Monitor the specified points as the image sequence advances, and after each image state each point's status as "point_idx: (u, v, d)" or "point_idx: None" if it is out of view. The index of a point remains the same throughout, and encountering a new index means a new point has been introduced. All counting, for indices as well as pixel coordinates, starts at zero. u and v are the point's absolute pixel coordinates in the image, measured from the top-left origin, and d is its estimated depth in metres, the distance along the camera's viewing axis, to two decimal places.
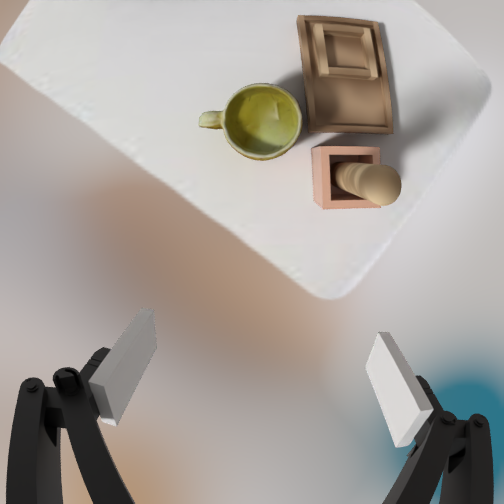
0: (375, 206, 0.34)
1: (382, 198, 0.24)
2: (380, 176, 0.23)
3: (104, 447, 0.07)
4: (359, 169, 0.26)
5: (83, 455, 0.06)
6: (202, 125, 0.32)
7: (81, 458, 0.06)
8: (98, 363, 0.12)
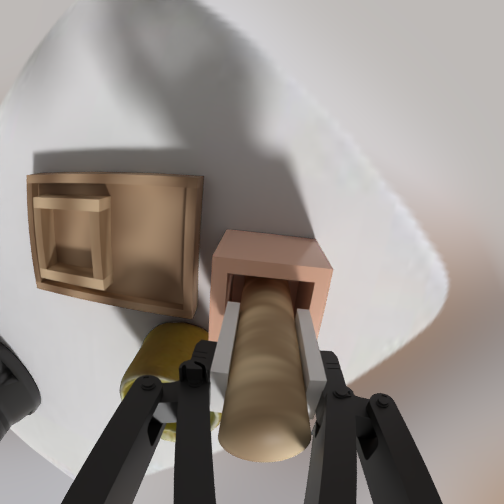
0: (328, 279, 0.18)
1: (292, 444, 0.10)
2: (243, 443, 0.10)
3: (209, 442, 0.08)
4: None
5: (184, 445, 0.08)
6: None
7: (181, 447, 0.08)
8: (203, 354, 0.14)
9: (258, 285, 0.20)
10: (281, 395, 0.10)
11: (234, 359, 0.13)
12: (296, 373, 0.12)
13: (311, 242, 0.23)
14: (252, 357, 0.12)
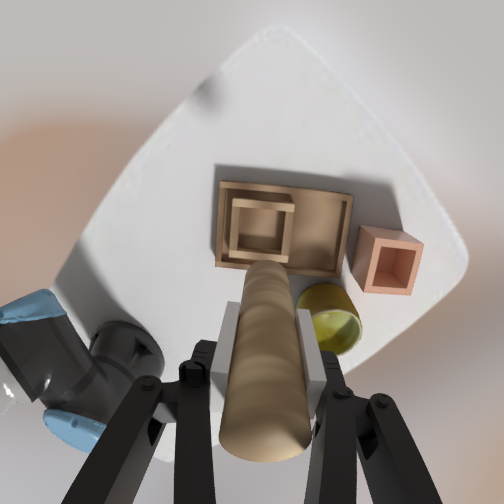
0: (422, 249, 0.34)
1: (293, 444, 0.10)
2: (244, 443, 0.10)
3: (209, 442, 0.08)
4: None
5: (184, 444, 0.08)
6: None
7: (181, 447, 0.08)
8: (203, 354, 0.14)
9: (258, 284, 0.20)
10: (282, 395, 0.10)
11: (235, 359, 0.13)
12: (297, 373, 0.12)
13: (403, 232, 0.40)
14: (252, 356, 0.12)
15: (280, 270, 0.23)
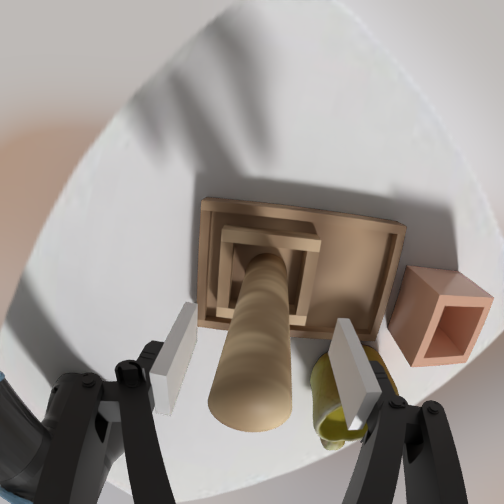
0: (490, 304, 0.20)
1: (275, 413, 0.11)
2: (230, 409, 0.11)
3: (156, 442, 0.08)
4: None
5: (133, 447, 0.07)
6: None
7: (130, 449, 0.07)
8: (151, 355, 0.13)
9: (256, 274, 0.21)
10: (265, 365, 0.12)
11: (228, 336, 0.15)
12: (282, 349, 0.14)
13: (461, 275, 0.26)
14: (242, 333, 0.14)
15: (278, 262, 0.25)
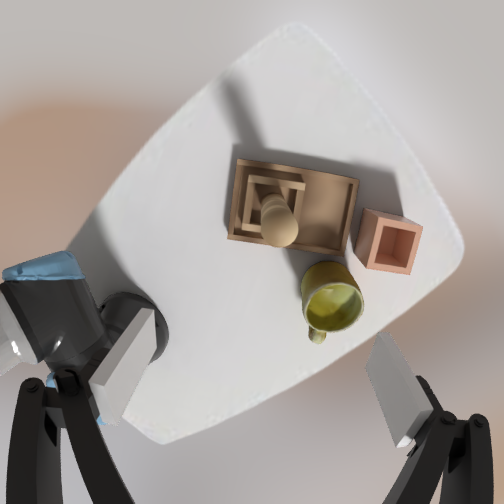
0: (421, 231, 0.37)
1: (291, 232, 0.28)
2: (270, 231, 0.28)
3: (104, 447, 0.07)
4: None
5: (83, 455, 0.06)
6: (320, 343, 0.44)
7: (81, 458, 0.06)
8: (98, 363, 0.12)
9: (271, 196, 0.38)
10: (285, 210, 0.29)
11: (264, 211, 0.32)
12: (291, 212, 0.30)
13: (404, 217, 0.43)
14: (272, 206, 0.31)
15: (281, 196, 0.41)
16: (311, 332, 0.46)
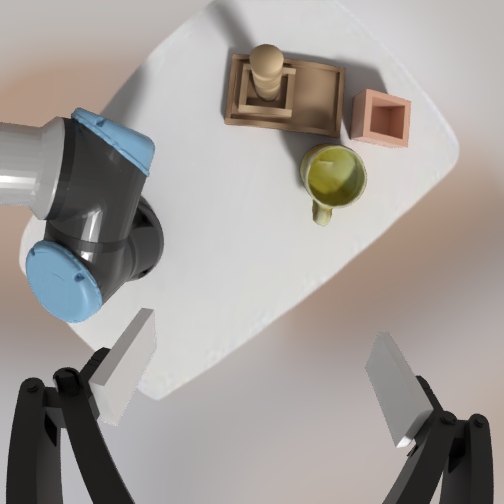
0: (409, 105, 0.35)
1: (277, 60, 0.26)
2: (258, 60, 0.26)
3: (104, 447, 0.07)
4: (255, 75, 0.29)
5: (83, 455, 0.06)
6: (327, 223, 0.42)
7: (81, 458, 0.06)
8: (98, 363, 0.12)
9: None
10: None
11: None
12: None
13: None
14: None
15: None
16: (315, 215, 0.44)
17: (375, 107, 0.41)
